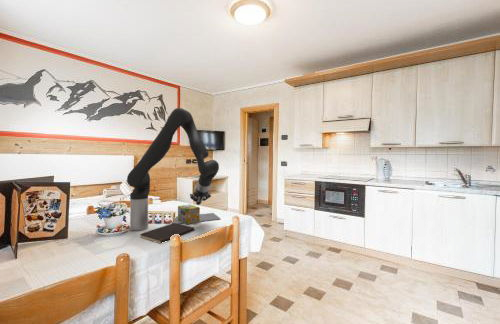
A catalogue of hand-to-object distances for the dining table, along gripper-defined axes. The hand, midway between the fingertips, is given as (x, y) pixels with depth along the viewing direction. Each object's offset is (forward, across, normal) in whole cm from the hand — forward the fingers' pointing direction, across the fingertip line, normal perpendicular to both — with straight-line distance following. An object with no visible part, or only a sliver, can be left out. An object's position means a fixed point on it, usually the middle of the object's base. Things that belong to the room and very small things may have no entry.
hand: (198, 203), depth 151 cm
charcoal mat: (+15, 0, +2) cm, 15 cm away
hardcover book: (-1, +19, +19) cm, 27 cm away
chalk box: (+4, +3, +6) cm, 8 cm away
